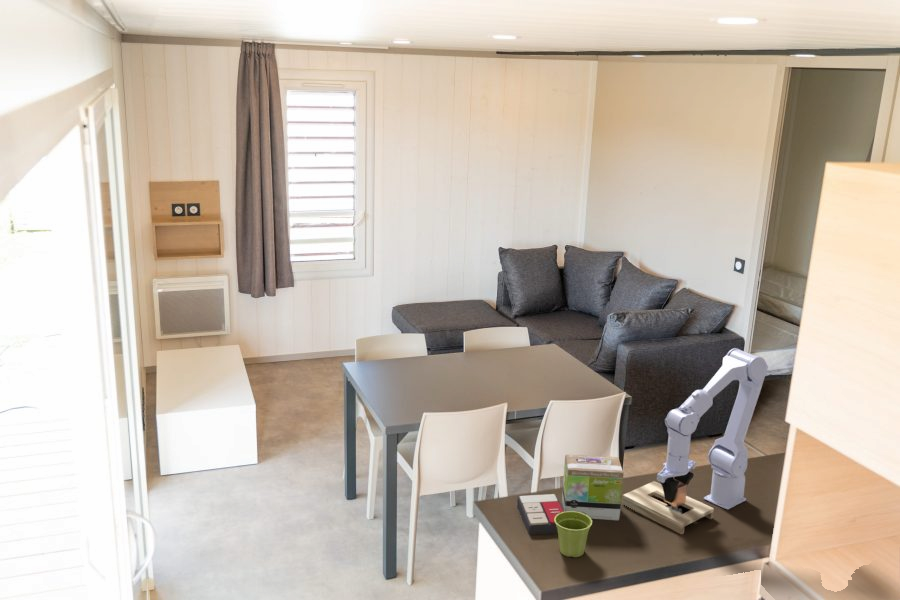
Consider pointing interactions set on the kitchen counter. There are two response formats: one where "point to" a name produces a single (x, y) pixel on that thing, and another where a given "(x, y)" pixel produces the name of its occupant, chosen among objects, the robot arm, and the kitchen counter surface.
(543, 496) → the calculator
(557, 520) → the plant pot
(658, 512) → the keyhole plate
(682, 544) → the kitchen counter surface
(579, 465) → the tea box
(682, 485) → the peg
